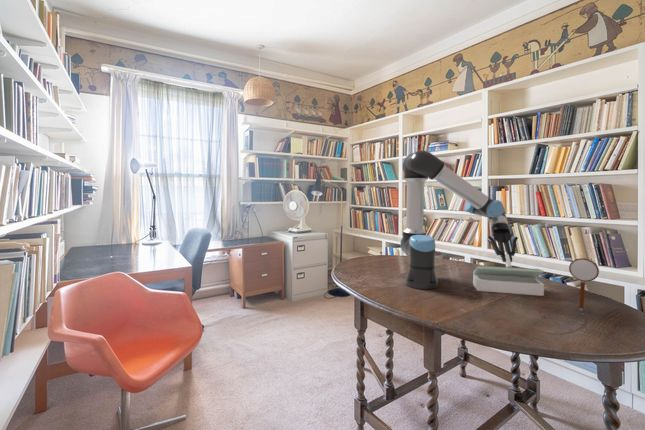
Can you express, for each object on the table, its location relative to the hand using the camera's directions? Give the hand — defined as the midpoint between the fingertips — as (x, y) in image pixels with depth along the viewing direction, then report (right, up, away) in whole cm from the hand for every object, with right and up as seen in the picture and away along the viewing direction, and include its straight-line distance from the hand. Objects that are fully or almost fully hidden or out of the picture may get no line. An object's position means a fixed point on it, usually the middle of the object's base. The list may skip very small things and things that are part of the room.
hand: (509, 267), depth 140 cm
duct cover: (0, -3, +2) cm, 4 cm away
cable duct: (0, -10, +2) cm, 11 cm away
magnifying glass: (+14, -13, -23) cm, 29 cm away
